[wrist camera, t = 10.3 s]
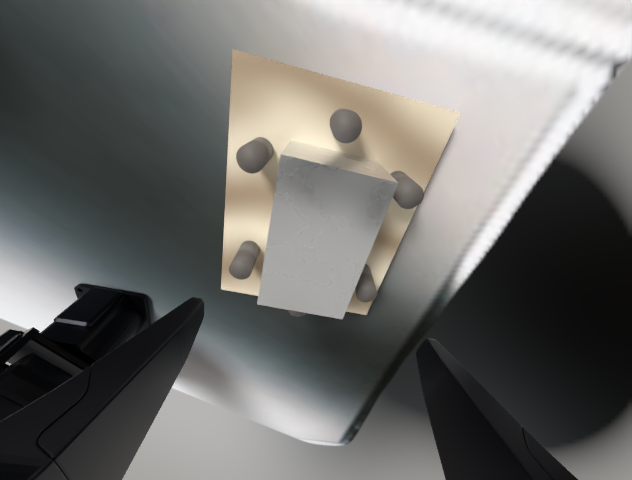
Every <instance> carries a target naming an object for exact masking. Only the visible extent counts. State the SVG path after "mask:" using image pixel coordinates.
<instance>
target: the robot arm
mask: <svg viewBox="0 0 632 480" xmlns="http://www.w3.org/2000/svg"><path fill="white" fill-rule="evenodd" d="M74 289H75V292H76V295H77V298H78V300H76V301H75V302H74V303H73V304H71V305H70V306H69V307H68V308H67V309H65V310H64V311H63V312H62V313H61V314H59V315H58V316H57V317H56V318H55V319H54V322H53V323H52V324H51V325H49V326H48V327H47V328H46V329H45V330H43V331H42V332H41V333H39V332H40V331H39V330H37V329H35V328H34V327H33V328H31V329H29V330H27V331H25V332H22V331H16V330H8V331H6V332H5V333H3V334H2V335H0V480H122V478H123V477H124V475H125V473H126V471H127V469H128V467H129V465H130V464H131V462H132V460H133V458H134V456H135V454H136V452H137V451H138V448H139V447H140V445H141V443H142V441H143V439H144V438H145V436H146V434H147V432H148V430H149V428H150V426H151V425H152V423H153V421H154V419H155V417H156V415H157V413H158V411H159V410H160V408H161V406H162V404H163V402H164V400H165V399H166V397H167V395H168V393H169V391H170V389H171V387H172V386H173V384H174V382H175V380H176V378H177V376H178V374H179V373H180V371H181V369H182V367H183V365H184V363H185V361H186V359H187V357H188V355H189V352H190V350H191V347H192V345H193V342H194V340H195V337H196V335H197V333H198V330H199V328H200V325H201V323H202V320H203V317H204V300H203V299H200V298H195V297H193V298H190V299H189V300H187V301H186V302H184V303H183V304H181V305H180V306H178V307H177V308H175V309H174V310H172V311H171V312H169V313H168V314H166V315H165V316H163V317H162V318H160V319H159V320H157V321H156V322H154V323H153V324H152V325H151V323H150V316H149V310H148V303H147V298H146V296H145V295H143V294H140V293H134V292H128V291H122V290H116V289H111V288H105V287H99V286H93V285H87V284H78V285H77V286H76V287H75V288H74ZM416 355H417V362H418V368H419V374H420V380H421V386H422V391H423V396H424V399H425V404H426V408H427V411H428V415H429V419H430V422H431V426H432V430H433V434H434V438H435V441H436V445H437V449H438V452H439V456H440V460H441V463H442V468H443V471H444V475H445V479H446V480H578V479H577V478H576V477H574V476H573V475H572V474H571V473H570V472H569V471H568V470H567V469H566V468H565V467H564V466H562V464H561V463H559V462H558V461H557V460H556V459H555V458H554V457H553V456H552V455H551V454H550V453H549V452H548V451H547V450H546V449H545V448H544V447H543V446H542V445H541V444H540V443H539V442H538V441H537V440H536V439H535V438H534V437H533V436H532V435H531V434H530V433H529V432H528V431H527V430H526V429H525V428H524V427H522V426H521V425H520V423H519V422H518V421H517V420H515V418H514V417H513V416H512V415H511V414H510V413H508V411H507V410H506V409H505V408H504V407H503V406H502V405H501V404H500V403H499V402H498V401H497V400H496V399H495V398H494V397H493V396H492V395H491V394H490V393H489V392H488V391H487V390H486V389H485V388H484V387H483V386H482V385H481V384H480V383H479V382H478V381H477V380H476V379H475V378H474V377H473V376H472V375H471V374H470V373H469V372H468V371H467V370H466V369H465V368H464V367H463V366H462V365H461V364H460V363H459V362H458V361H457V360H456V359H455V358H454V357H453V356H452V355H451V354H450V353H449V352H448V351H447V350H446V349H445V348H444V347H443V346H442V345H441V344H440V343H439V342H438V341H437V340H435V339H430V338H426V339H424V341H423V342H422V344H421V345H420V346H419V348H418V350H417V354H416ZM6 362H9V363H11V365H10V366H9V365H7V364H5V363H6Z"/></svg>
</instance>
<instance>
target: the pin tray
mask: <svg viewBox="0 0 632 480" xmlns="http://www.w3.org/2000/svg"><path fill="white" fill-rule="evenodd" d="M459 116H460V112H456V111H453V110H449V109H445V108H442V107H438V106H435V105H431V104H427V103H424V102H420V101H417V100H413V99H409V98H406V97H402V96H399V95H395V94H391V93H388V92H384V91H381V90H377V89H374V88H370V87H366V86H363V85H359V84H356V83H352V82H348V81H345V80H341V79H338V78H334V77H330V76H327V75H323V74H320V73H316V72H312V71H309V70H305V69H302V68H298V67H295V66H291V65H287V64H284V63H280V62H277V61H273V60H269V59H266V58H262V57H259V56H255V55H251V54H248V53H244V52H241V51H237V50H233V55H232V76H231V96H230V117H229V137H228V158H227V178H226V199H225V219H224V239H223V260H222V280H221V289H223V290H228V291H234V292H239V293H245V294H251V295H256V296H258V295H259V289H260V282H261V276H262V270H263V263H264V257H265V250H266V244H267V238H268V231H269V225H270V219H271V212H272V206H273V199H274V193H275V187H276V180H277V174H278V168H279V161H280V155H281V153H282V151H283V150H284V149H285V147H286V146H287V145H288V143H289V142H290V140H294V141H298V142H302V143H306V144H310V145H314V146H318V147H322V148H326V149H330V150H334V151H338V152H342V153H346V154H350V155H354V156H358V157H362V158H366V159H370V160H374V161H378V162H379V163H380V164H381V165H382V166H383V167H384V168H385V169H386V170H387V172H388V173H389V174H390V175H391V176H392V177H393V178H394V179H395V180H396V181H397V182H398V185H397V188H396V190H395V193H394V195H393V198H392V200H391V202H390V205H389V207H388V210H387V212H386V215H385V217H384V219H383V222H382V224H381V227H380V229H379V232H378V234H377V236H376V239H375V241H374V244H373V246H372V249H371V251H370V254H369V256H368V258H367V261H366V263H365V266H364V268H363V271H362V273H361V275H360V278H359V280H358V283H357V285H356V288H355V290H354V293H353V295H352V297H351V300H350V302H349V305H348V307H347V310H346V312H352V313H358V314H363V315H367V313H368V310H369V308H370V306H371V304H372V302H373V300H374V299H375V298H376V297H377V291H378V289H379V287H380V285H381V283H382V280H383V278H384V276H385V274H386V272H387V270H388V268H389V265H390V263H391V261H392V259H393V257H394V255H395V253H396V250H397V248H398V246H399V244H400V242H401V240H402V238H403V235H404V233H405V231H406V229H407V227H408V225H409V223H410V221H411V218H412V216H413V214H414V212H415V210H416V208H417V206H418V205H419V204H420V203H421V201H422V199H423V196H424V191H425V188H426V186H427V184H428V182H429V180H430V178H431V176H432V173H433V171H434V169H435V167H436V165H437V163H438V161H439V158H440V156H441V154H442V152H443V150H444V148H445V146H446V143H447V141H448V139H449V137H450V135H451V133H452V131H453V128H454V126H455V124H456V122H457V120H458V118H459ZM288 312H289V313H290V314H291V315H293V316H296V317H301V316H304V315H306V314H307V313H304V312H298V311H292V310H288Z"/></svg>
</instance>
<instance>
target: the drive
mask: <svg viewBox="0 0 632 480" xmlns="http://www.w3.org/2000/svg"><path fill="white" fill-rule="evenodd" d="M397 185H398V182H397V181H396V180H395V179H394V178H393V177H392V176H391V175H390V174H389V173H388V172H387V170H386V169H385V168H384V167H383V166H382V165H381V164H380V163H379V162H378V161H374V160H370V159H366V158H362V157H358V156H354V155H350V154H346V153H342V152H338V151H334V150H330V149H326V148H322V147H318V146H314V145H310V144H306V143H302V142H298V141H294V140H290V142H289V143H288V145H287V146H286V147H285V149H284V150H283V151H282V153H281V155H280V161H279V168H278V174H277V180H276V187H275V193H274V199H273V206H272V212H271V219H270V225H269V231H268V238H267V244H266V250H265V257H264V263H263V270H262V276H261V282H260V289H259V295H258V302H257V304H258V305H264V306H270V307H275V308H281V309H287V310H292V311H298V312H304V313H309V314H315V315H320V316H326V317H332V318H337V319H343V317H344V314H345V312H346V310H347V307H348V305H349V302H350V300H351V297H352V295H353V293H354V290H355V288H356V285H357V283H358V280H359V278H360V275H361V273H362V271H363V268H364V266H365V263H366V261H367V258H368V256H369V254H370V251H371V249H372V246H373V244H374V241H375V239H376V236H377V234H378V232H379V229H380V227H381V224H382V222H383V219H384V217H385V215H386V212H387V210H388V207H389V205H390V202H391V200H392V198H393V195H394V193H395V190H396V188H397Z"/></svg>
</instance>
